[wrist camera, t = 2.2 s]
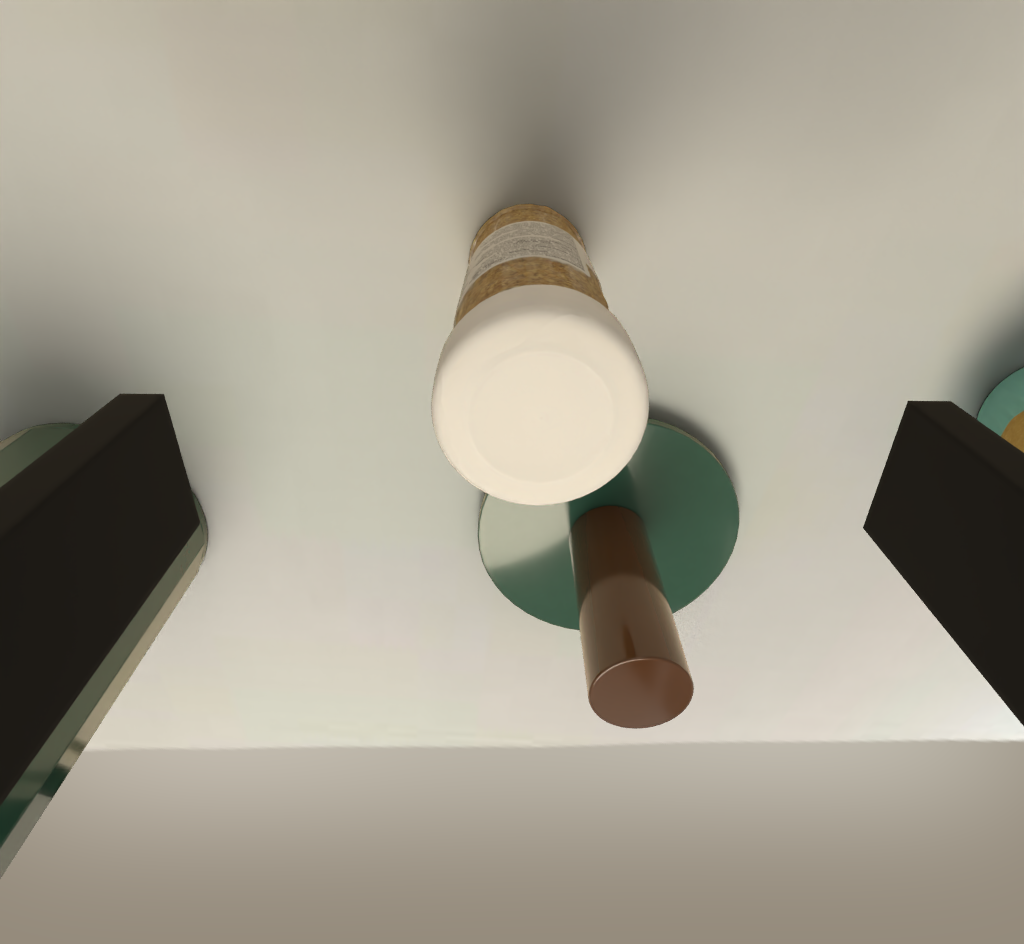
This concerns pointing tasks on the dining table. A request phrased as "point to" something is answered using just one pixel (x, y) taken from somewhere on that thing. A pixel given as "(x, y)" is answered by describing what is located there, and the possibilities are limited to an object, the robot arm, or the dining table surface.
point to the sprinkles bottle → (536, 367)
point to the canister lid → (622, 568)
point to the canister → (26, 802)
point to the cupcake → (1006, 410)
